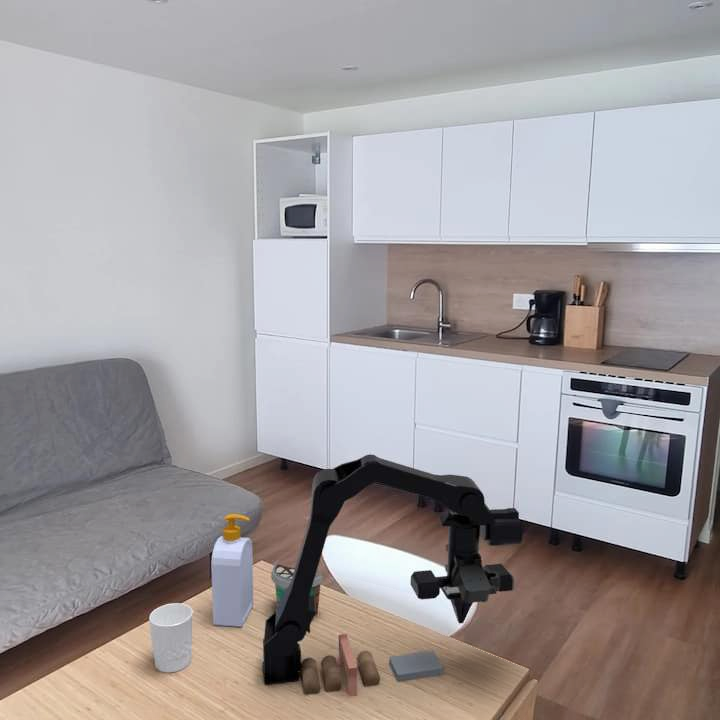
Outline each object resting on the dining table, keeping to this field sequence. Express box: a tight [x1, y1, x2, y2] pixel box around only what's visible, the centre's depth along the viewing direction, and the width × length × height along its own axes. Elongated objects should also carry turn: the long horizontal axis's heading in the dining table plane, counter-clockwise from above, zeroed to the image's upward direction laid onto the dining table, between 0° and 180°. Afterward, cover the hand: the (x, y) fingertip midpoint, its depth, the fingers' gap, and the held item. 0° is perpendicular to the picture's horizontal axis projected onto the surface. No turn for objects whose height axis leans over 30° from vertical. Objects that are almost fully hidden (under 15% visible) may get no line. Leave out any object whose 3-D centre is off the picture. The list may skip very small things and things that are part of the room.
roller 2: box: [320, 654, 343, 693], centre depth 120 cm, size 3×6×3 cm, turn 11°
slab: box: [388, 650, 445, 683], centre depth 123 cm, size 9×6×2 cm, turn 104°
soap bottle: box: [210, 513, 254, 628], centre depth 139 cm, size 9×7×23 cm
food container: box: [270, 560, 324, 617], centre depth 140 cm, size 12×6×10 cm, turn 62°
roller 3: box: [356, 650, 381, 687], centre depth 121 cm, size 3×6×3 cm
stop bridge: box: [338, 633, 358, 697], centre depth 120 cm, size 2×10×6 cm, turn 12°
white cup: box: [148, 602, 194, 674], centre depth 124 cm, size 8×8×10 cm
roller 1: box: [300, 657, 322, 695], centre depth 119 cm, size 3×6×3 cm, turn 10°
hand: (460, 622), depth 124 cm, fingers closed
